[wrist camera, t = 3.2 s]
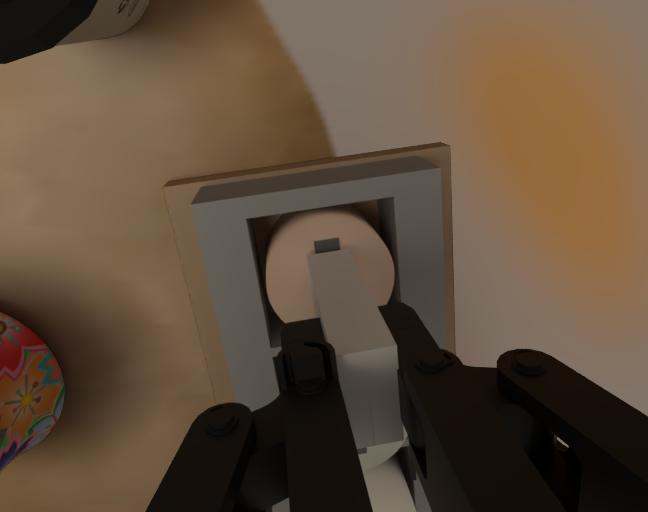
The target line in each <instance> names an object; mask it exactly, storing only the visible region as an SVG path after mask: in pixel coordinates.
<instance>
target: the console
mask: <svg viewBox="0 0 648 512" xmlns="http://www.w3.org/2000/svg"><path fill="white" fill-rule="evenodd" d="M163 191H164V195H165V199H166V203H167V207H168V211H169V215H170V219H171V223H172V227H173V231H174V235H175V239H176V243H177V247H178V251H179V255H180V259H181V263H182V267H183V271H184V275H185V279H186V283H187V287H188V291H189V295H190V299H191V303H192V307H193V311H194V315H195V319H196V323H197V327H198V331H199V335H200V339H201V343H202V347H203V351H204V355H205V359H206V363H207V366H208V370H209V374H210V378H211V382H212V386H213V390H214V394H215V398H216V402H217V405H218V404H222V403H229V402H234V403H242V404H243V405H245V406H247V407H249V408H250V410H251V412H252V411H255V410H257V409H260V408H262V407H264V406H266V405H268V404H269V403H271V402H272V401H273V400H275V399H276V398H277V397H278V396H279V394H280V393H281V391H282V388H281V383H280V378H279V372H278V367H277V362H276V359H277V355H278V353H279V352H280V351H281V335H280V332H281V331H282V329H283V328H284V326H285V325H286V323H285V322H284V321H282V320H281V319H280V317H279V316H278V315H277V314H276V312H275V311H274V309H273V307H272V305H271V303H270V301H269V298H268V294H267V288H266V244H267V239H268V236H269V233H270V231H271V229H272V227H273V225H274V224H275V222H276V221H277V219H278V218H279V217H280V216H281V215H282V214H283V213H288V212H295V211H301V210H308V209H315V208H321V207H328V206H334V205H341V204H350V205H351V206H353V207H354V208H356V209H357V210H358V211H359V212H360V213H362V215H363V216H364V217H365V218H366V219H367V221H368V222H369V223H370V225H371V226H372V227H373V229H374V230H375V231H376V233H377V234H378V235H379V237H380V238H381V239H382V241H383V242H384V244H385V245H386V247H387V248H388V250H389V252H390V255H391V257H392V261H393V265H394V286H393V290H392V293H391V296H390V298H389V301H388V302H387V304H386V305H388V304H394V303H400V302H402V303H404V304H406V305H408V306H410V307H411V308H413V309H414V310H415V312H416V313H417V315H418V316H419V318H420V319H421V321H422V322H423V324H424V326H425V327H426V328H427V330H428V331H429V333H430V334H431V336H432V337H433V339H434V340H435V342H436V343H437V345H438V346H439V348H440V349H444V350H447V351H449V352H452V353H453V354H454V355H456V353H455V313H454V277H453V275H454V273H453V238H452V237H453V235H452V198H451V197H452V195H451V154H450V145H447V144H444V143H441V142H438V143H432V144H425V145H418V146H411V147H404V148H398V149H390V150H383V151H376V152H369V153H362V154H355V155H348V156H341V157H334V158H328V159H321V160H314V161H307V162H300V163H293V164H286V165H279V166H272V167H265V168H258V169H251V170H244V171H238V172H231V173H224V174H217V175H210V176H203V177H196V178H189V179H182V180H175V181H168V182H167V183H166V184H165V185H164V186H163ZM395 454H396V455H397V458H398V461H399V463H400V466H401V469H402V472H403V475H404V478H405V480H406V483H407V486H408V489H409V492H410V494H411V497H412V500H413V503H414V506H415V509H416V511H417V512H432V511H431V508H430V506H429V503H428V500H427V498H426V495H425V493H424V490H423V488H422V485H421V482H420V480H419V477H418V475H417V472H416V478H417V480H414V481H412V476H411V465H410V451H409V437H408V436H407V438H406V440H405V441H404V443H403V444H402V446H401V447H400V448H399V449H398V451H397V452H396V453H395ZM272 512H290V506H289V498H287V499H285V500H283V501H281V502H279V503H277V504H275V505H273V508H272Z"/></svg>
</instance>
